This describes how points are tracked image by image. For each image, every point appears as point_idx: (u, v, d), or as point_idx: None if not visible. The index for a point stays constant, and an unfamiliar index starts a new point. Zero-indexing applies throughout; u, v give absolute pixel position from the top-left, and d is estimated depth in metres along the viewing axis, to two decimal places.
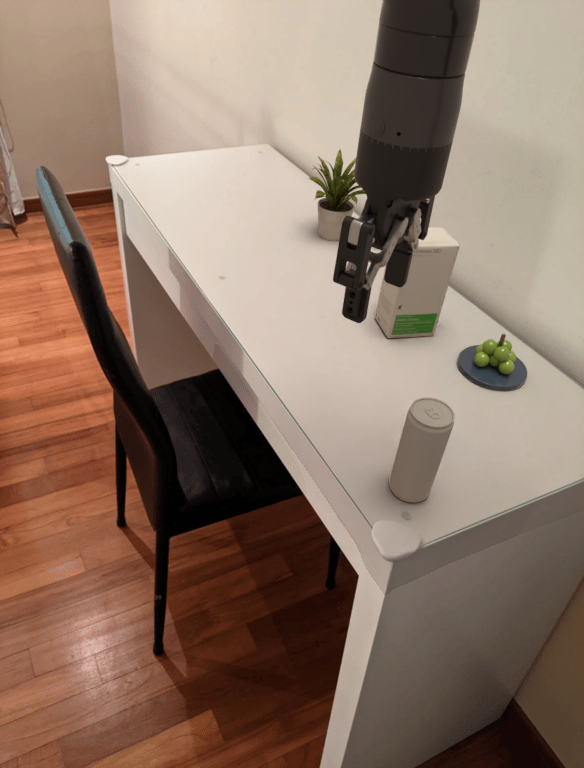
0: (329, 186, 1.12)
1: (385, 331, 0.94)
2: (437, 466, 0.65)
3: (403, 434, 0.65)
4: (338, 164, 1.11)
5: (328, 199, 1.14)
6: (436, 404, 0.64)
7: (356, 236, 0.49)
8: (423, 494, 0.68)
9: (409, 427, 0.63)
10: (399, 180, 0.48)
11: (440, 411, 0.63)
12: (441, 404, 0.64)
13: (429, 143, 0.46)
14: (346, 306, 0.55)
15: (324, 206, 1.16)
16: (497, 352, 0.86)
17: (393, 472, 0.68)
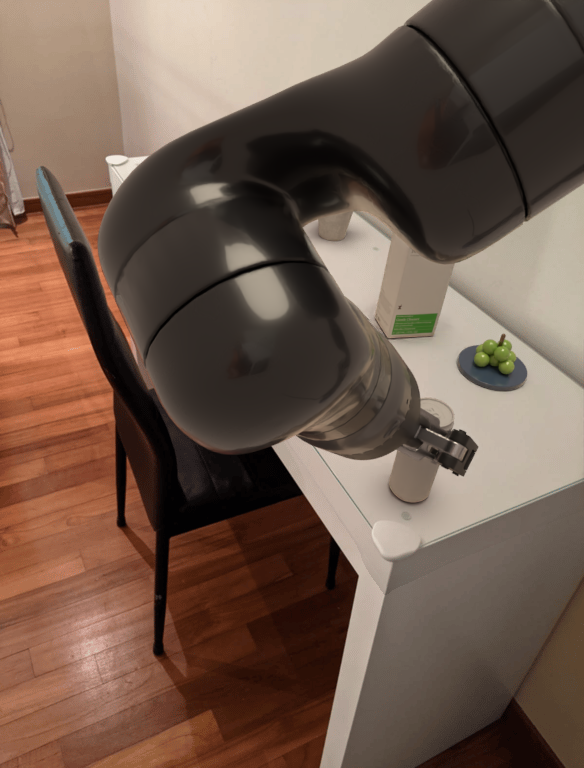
0: None
1: (385, 331, 0.94)
2: (437, 466, 0.65)
3: None
4: None
5: None
6: (436, 404, 0.64)
7: (465, 450, 0.40)
8: (423, 494, 0.68)
9: None
10: (417, 400, 0.38)
11: (440, 411, 0.63)
12: (441, 404, 0.64)
13: (403, 361, 0.35)
14: None
15: None
16: (497, 352, 0.86)
17: (393, 472, 0.68)
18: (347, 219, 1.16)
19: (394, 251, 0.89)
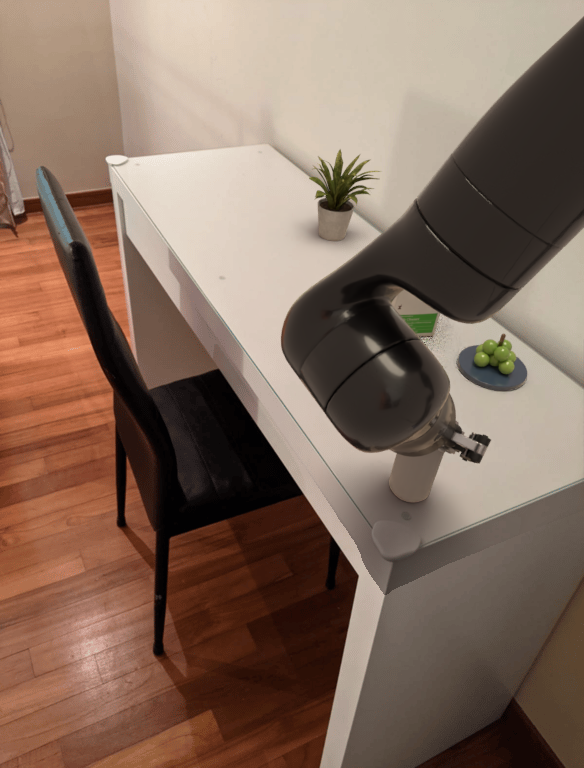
0: (329, 186, 1.12)
1: None
2: (437, 466, 0.65)
3: None
4: (338, 164, 1.11)
5: (328, 199, 1.14)
6: None
7: None
8: (423, 494, 0.68)
9: None
10: (454, 413, 0.53)
11: None
12: None
13: None
14: None
15: (324, 206, 1.16)
16: (497, 352, 0.86)
17: (393, 472, 0.68)
18: (347, 219, 1.16)
19: None
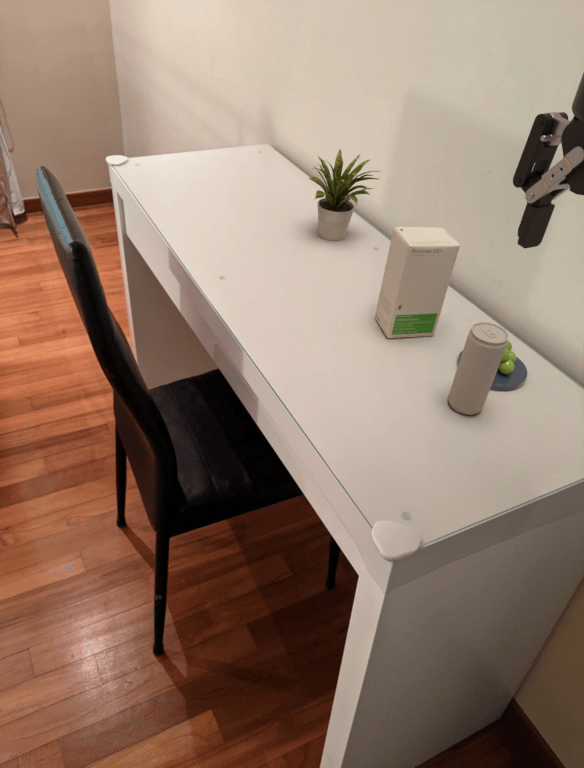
0: (329, 186, 1.12)
1: (385, 331, 0.94)
2: (491, 381, 0.78)
3: (464, 353, 0.77)
4: (338, 164, 1.11)
5: (328, 199, 1.14)
6: (492, 327, 0.76)
7: None
8: (479, 407, 0.80)
9: (470, 345, 0.76)
10: None
11: (496, 332, 0.76)
12: (496, 327, 0.77)
13: None
14: None
15: (324, 206, 1.16)
16: None
17: (453, 388, 0.81)
18: (347, 219, 1.16)
19: (394, 251, 0.89)
